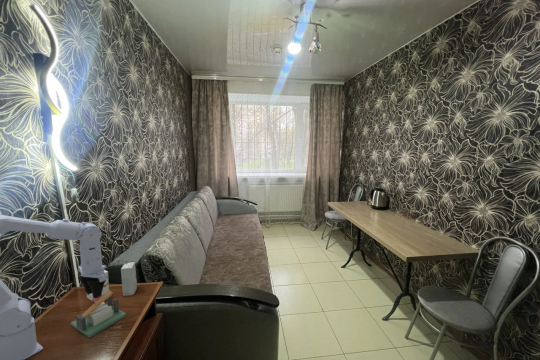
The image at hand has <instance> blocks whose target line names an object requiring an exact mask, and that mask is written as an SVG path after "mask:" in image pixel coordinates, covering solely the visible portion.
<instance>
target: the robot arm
mask: <svg viewBox="0 0 540 360" xmlns="http://www.w3.org/2000/svg"><path fill="white" fill-rule="evenodd" d="M11 231H13V232H23V233H39V234H47V235H48V237H49V238H50V239H58V240H68V241H69V240H70V241H78V240H79V245H80V246H79V254H80V266H78V272H79V273H80V275H79V276H77V278H78V280H79V282H81V284H82V286H83V288H84V291H85V293H86V295H87V294H88V295H89V294H91V293H92V295H93V297H94V298H97V297H99V296H101V295H102V290H103V286H104V283H105V281H106V280H107V278H108V279H109V276H108V277H107V274H106V273H105V272H104V270H105V269H106V268H107V266H106V265H104V264H103V260H102V258H103V257H102V248H101V247H102V246H101V238H102V235H103V233H102V232H101V229H100V227H98V226H97V225H96V224H94V223H92V222H90V221H89V222H86V221H82V222H76V221H75V222H74V221H69V219H68V218H63V219H62V220H61V219H56V220H54V221H51V222H48V221H41V220H35V219H28V218H23V217H17V216H12V215H11V216H10V215H3V214H0V235H2V234H4V233H8V232H11ZM31 305H32V302H31V301H30V300H29V299H28V298H27V299H26V298H23V297H21V296H19V294H18V293H14V292H13V291H12V290H11V289H10V288H9V287H8V286H7V285H6V284H5V283H4V282H3V280H2V279H0V360H27V359H29V358H30V357H32V356H33V355H36V354H38V353H39V352H41V351H42V350H43V349H44V347H43V346H42V345H41V344H40V343H39V342H38V339H37V333H36V324H35V318H34V317H33V316H32V315H31Z"/></svg>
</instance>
